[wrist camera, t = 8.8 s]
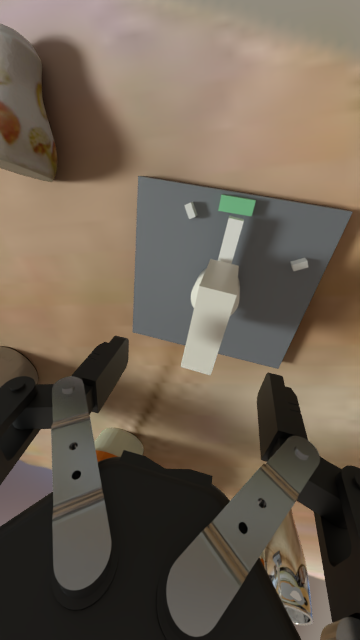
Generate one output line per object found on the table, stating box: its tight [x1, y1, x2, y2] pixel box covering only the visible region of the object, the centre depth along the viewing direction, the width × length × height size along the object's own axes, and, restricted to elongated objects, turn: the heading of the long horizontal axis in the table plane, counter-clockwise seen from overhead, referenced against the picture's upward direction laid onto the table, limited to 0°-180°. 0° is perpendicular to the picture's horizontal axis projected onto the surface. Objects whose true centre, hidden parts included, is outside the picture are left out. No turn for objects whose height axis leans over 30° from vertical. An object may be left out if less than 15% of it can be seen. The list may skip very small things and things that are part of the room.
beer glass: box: [260, 508, 313, 625], centre depth 36 cm, size 7×7×15 cm
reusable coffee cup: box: [94, 428, 144, 462], centre depth 40 cm, size 13×13×15 cm
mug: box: [0, 24, 57, 182], centre depth 20 cm, size 8×10×10 cm
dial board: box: [133, 176, 352, 369], centre depth 25 cm, size 17×18×2 cm
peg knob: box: [181, 216, 244, 375], centre depth 20 cm, size 10×4×9 cm, turn 171°
